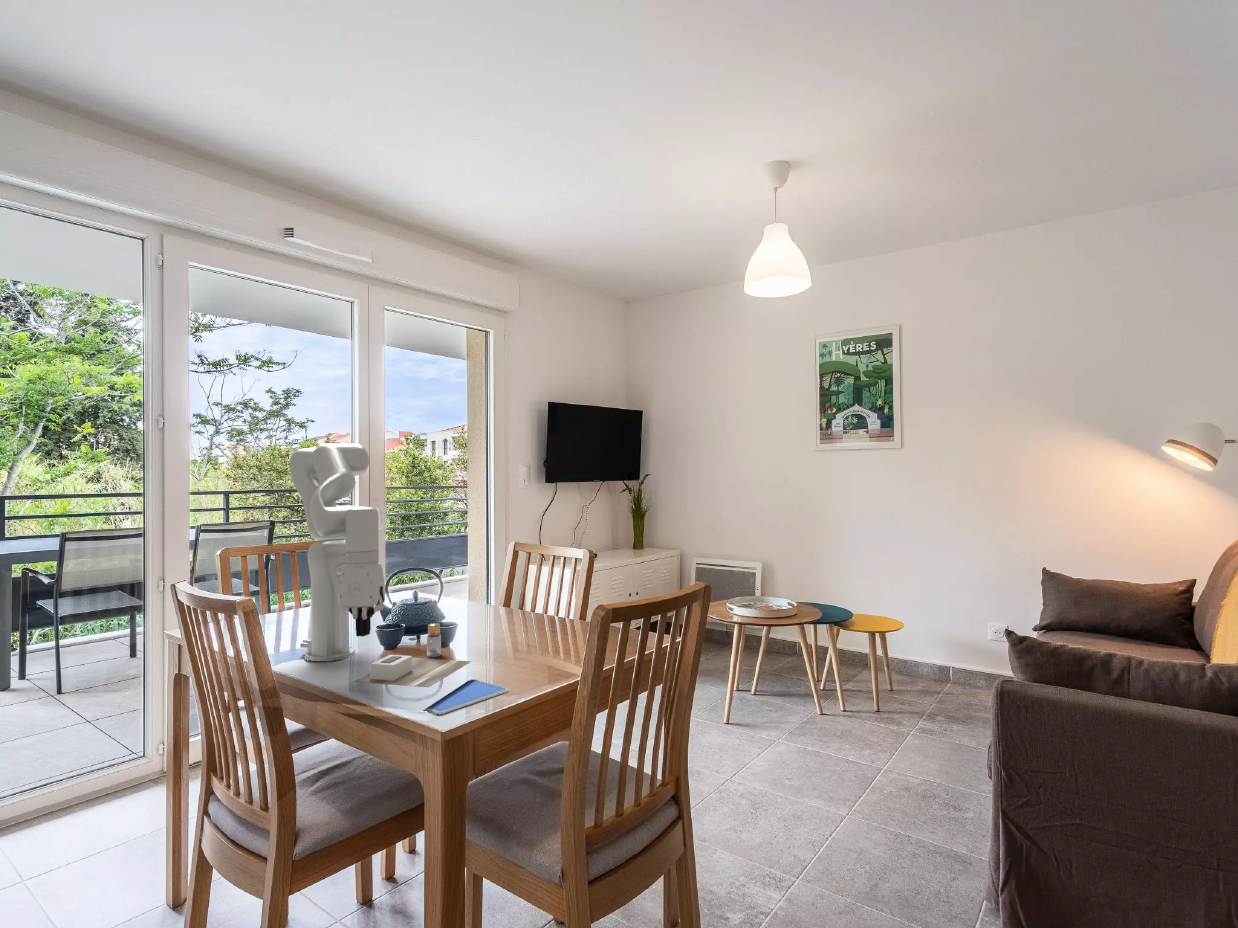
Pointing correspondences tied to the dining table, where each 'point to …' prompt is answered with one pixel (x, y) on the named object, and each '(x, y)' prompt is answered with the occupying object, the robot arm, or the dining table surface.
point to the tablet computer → (465, 696)
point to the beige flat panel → (422, 672)
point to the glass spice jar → (433, 640)
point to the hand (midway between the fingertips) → (363, 635)
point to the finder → (390, 667)
